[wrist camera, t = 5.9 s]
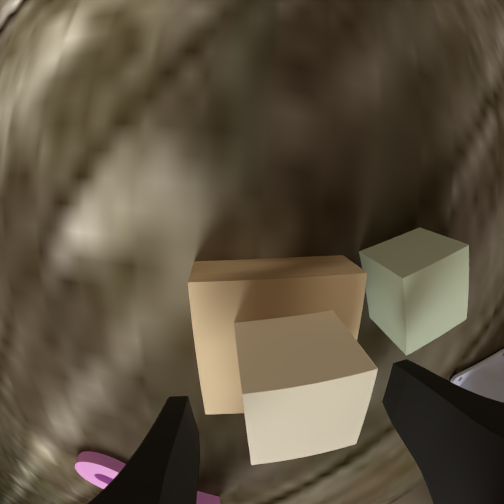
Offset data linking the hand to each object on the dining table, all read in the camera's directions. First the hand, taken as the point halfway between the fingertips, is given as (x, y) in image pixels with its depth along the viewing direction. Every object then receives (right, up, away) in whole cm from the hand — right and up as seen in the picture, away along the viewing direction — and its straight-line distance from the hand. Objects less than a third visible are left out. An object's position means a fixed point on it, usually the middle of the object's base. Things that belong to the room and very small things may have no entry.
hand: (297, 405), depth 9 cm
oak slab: (-1, +2, +6) cm, 6 cm away
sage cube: (+6, +4, +6) cm, 9 cm away
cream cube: (0, +1, +3) cm, 3 cm away
